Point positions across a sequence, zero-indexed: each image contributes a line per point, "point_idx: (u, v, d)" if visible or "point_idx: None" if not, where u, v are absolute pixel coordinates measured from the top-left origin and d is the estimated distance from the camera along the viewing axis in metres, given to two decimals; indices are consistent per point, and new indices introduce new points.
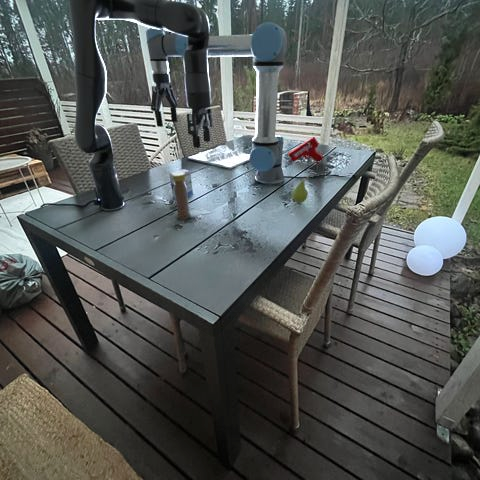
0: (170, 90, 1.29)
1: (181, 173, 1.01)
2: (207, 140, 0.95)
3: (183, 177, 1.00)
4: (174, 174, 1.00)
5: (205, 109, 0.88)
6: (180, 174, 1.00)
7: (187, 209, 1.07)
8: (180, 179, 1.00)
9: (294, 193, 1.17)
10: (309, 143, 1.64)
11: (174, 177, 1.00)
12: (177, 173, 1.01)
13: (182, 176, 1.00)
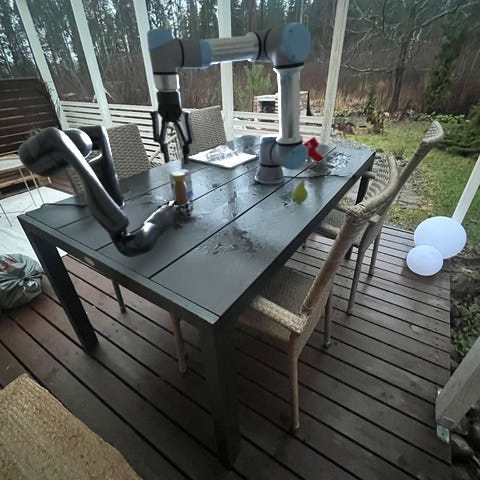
0: (185, 118, 0.89)
1: (181, 173, 1.01)
2: None
3: (183, 177, 1.00)
4: (174, 174, 1.00)
5: None
6: (180, 174, 1.00)
7: None
8: (180, 179, 1.00)
9: (294, 193, 1.17)
10: (309, 143, 1.64)
11: (174, 177, 1.00)
12: (177, 173, 1.01)
13: (182, 176, 1.00)
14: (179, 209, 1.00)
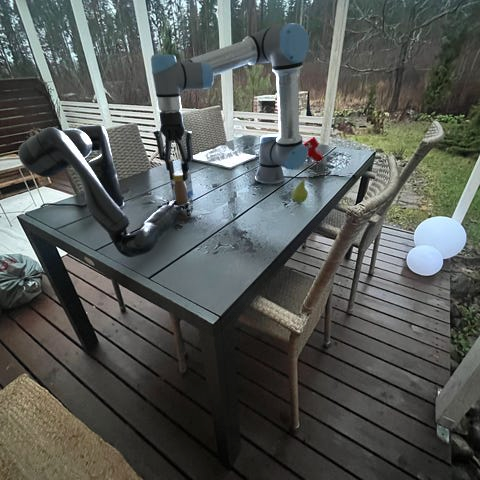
0: None
1: (181, 173, 1.01)
2: None
3: None
4: (174, 174, 1.00)
5: None
6: (180, 174, 1.00)
7: None
8: (180, 179, 1.00)
9: (294, 193, 1.17)
10: (309, 143, 1.64)
11: (174, 177, 1.00)
12: (177, 173, 1.01)
13: (182, 176, 1.00)
14: (179, 209, 1.00)
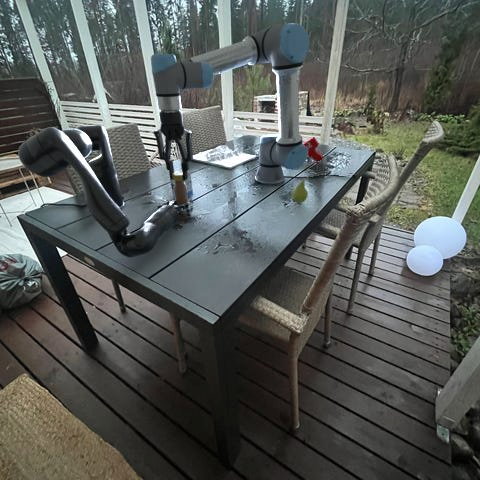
0: None
1: (177, 172, 1.01)
2: None
3: None
4: (181, 174, 1.00)
5: None
6: (180, 172, 1.02)
7: None
8: None
9: (294, 193, 1.17)
10: (309, 143, 1.64)
11: None
12: (177, 173, 1.00)
13: None
14: (179, 209, 1.00)
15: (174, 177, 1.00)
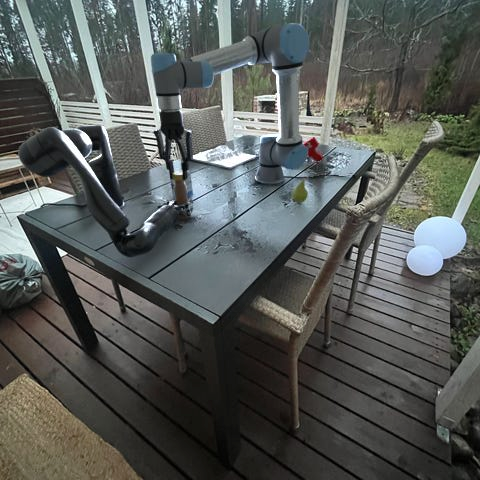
0: (186, 137, 0.92)
1: (176, 173, 1.00)
2: None
3: None
4: (179, 171, 1.02)
5: None
6: (175, 173, 1.00)
7: None
8: None
9: (294, 193, 1.17)
10: (309, 143, 1.64)
11: None
12: (179, 172, 1.01)
13: (172, 174, 1.01)
14: (179, 209, 1.00)
15: None
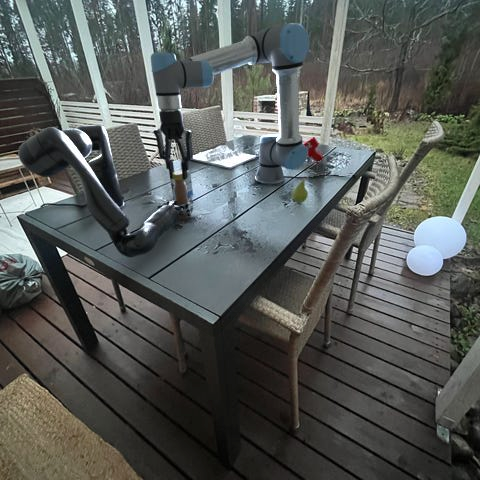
0: (186, 137, 0.92)
1: (181, 172, 1.00)
2: None
3: (182, 176, 1.00)
4: (174, 173, 1.00)
5: None
6: (179, 173, 1.00)
7: None
8: (178, 178, 0.99)
9: (294, 193, 1.17)
10: (309, 143, 1.64)
11: (173, 176, 1.00)
12: (177, 172, 1.01)
13: (180, 175, 0.99)
14: (179, 209, 1.00)
15: None
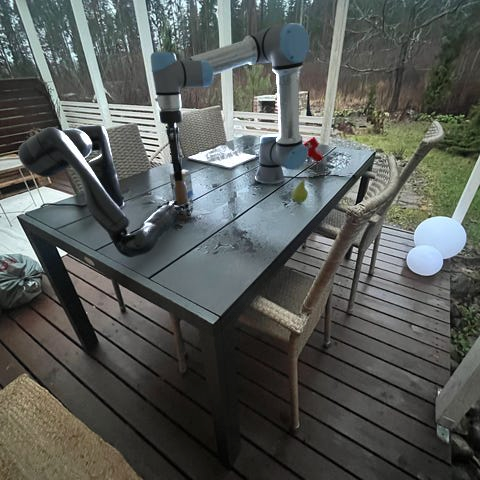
0: None
1: None
2: None
3: None
4: None
5: None
6: None
7: None
8: None
9: (294, 193, 1.17)
10: (309, 143, 1.64)
11: (183, 175, 1.00)
12: None
13: None
14: (179, 209, 1.00)
15: (173, 175, 1.00)
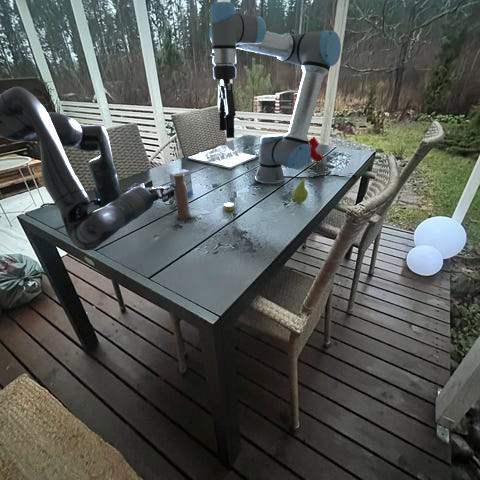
0: None
1: (227, 203, 1.16)
2: None
3: None
4: (231, 205, 1.14)
5: None
6: (230, 203, 1.16)
7: (187, 209, 1.07)
8: None
9: (294, 193, 1.17)
10: (309, 143, 1.64)
11: (233, 206, 1.15)
12: (228, 204, 1.15)
13: None
14: (154, 192, 0.83)
15: (224, 207, 1.15)
